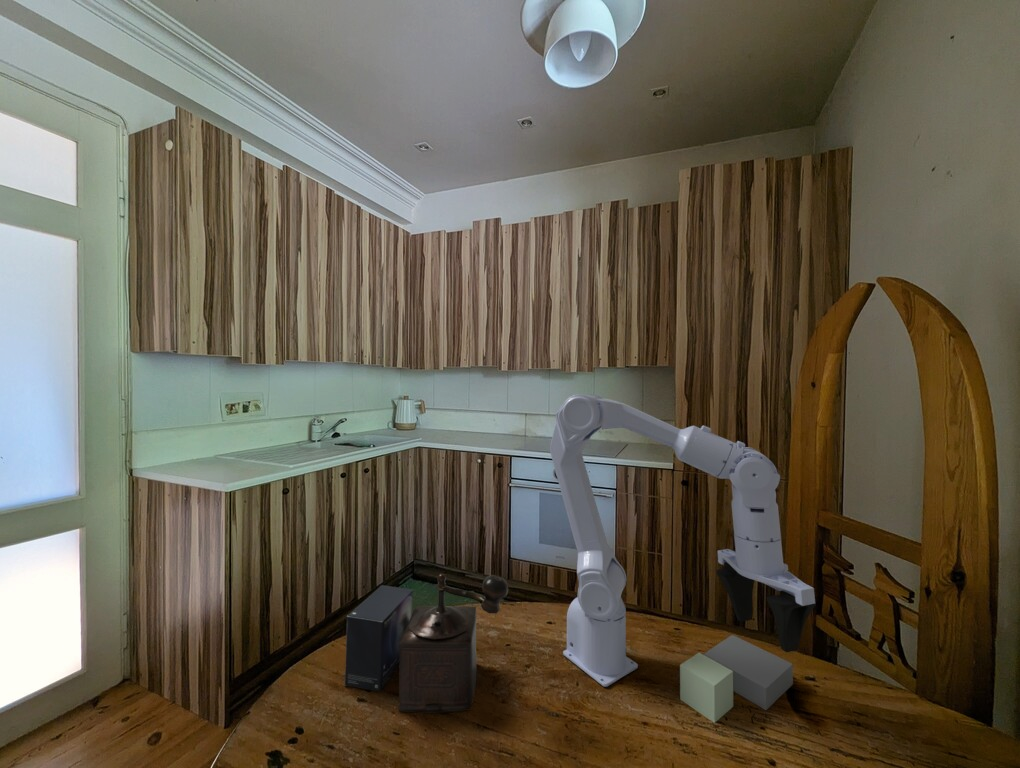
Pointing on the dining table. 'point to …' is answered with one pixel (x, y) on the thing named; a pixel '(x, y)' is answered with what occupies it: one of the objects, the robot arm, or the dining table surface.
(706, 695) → the green cube
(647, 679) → the dining table surface
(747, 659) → the gray plinth
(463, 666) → the manual coffee grinder
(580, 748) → the dining table surface
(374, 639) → the small box
